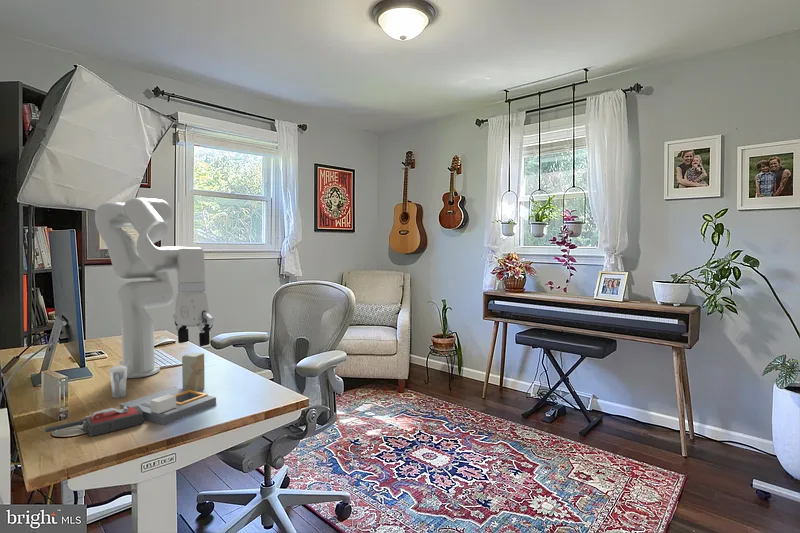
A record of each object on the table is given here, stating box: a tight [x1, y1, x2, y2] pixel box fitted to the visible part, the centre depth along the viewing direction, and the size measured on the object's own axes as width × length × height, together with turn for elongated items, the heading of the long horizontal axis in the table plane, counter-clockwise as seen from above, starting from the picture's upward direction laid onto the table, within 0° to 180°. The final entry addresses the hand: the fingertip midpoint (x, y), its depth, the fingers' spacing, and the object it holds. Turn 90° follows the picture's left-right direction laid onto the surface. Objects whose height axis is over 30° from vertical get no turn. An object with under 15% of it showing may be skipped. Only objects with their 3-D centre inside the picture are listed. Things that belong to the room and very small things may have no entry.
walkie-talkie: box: [44, 406, 144, 437], centre depth 108 cm, size 9×4×20 cm
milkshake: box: [108, 361, 129, 399], centre depth 131 cm, size 5×5×10 cm
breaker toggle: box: [151, 394, 176, 414], centre depth 115 cm, size 3×5×3 cm, turn 152°
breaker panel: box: [119, 386, 217, 426], centre depth 122 cm, size 18×16×2 cm
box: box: [181, 352, 206, 392], centre depth 137 cm, size 5×4×11 cm
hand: (194, 343), depth 136 cm, fingers open, 9 cm apart
